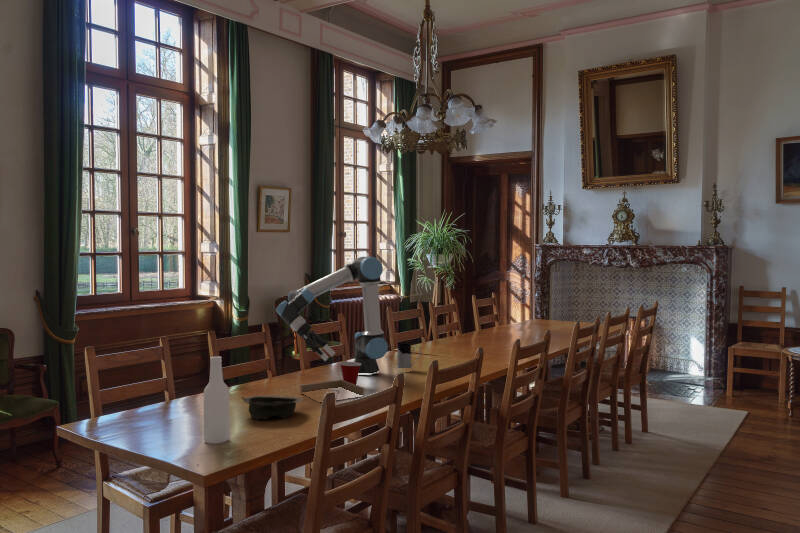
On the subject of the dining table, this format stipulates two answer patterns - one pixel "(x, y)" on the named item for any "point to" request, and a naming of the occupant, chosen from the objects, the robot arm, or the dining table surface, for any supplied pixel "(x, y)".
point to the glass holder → (405, 355)
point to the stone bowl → (271, 406)
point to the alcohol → (216, 405)
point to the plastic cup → (350, 371)
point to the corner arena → (332, 384)
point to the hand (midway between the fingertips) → (330, 357)
